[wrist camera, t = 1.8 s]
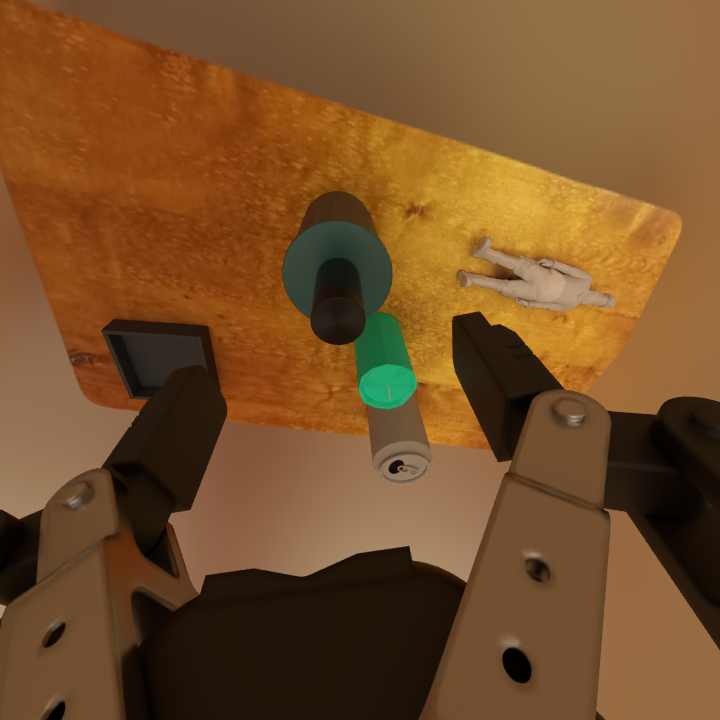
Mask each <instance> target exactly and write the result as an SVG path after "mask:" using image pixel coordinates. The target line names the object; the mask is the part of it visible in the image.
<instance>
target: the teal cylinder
mask: <svg viewBox="0 0 720 720" xmlns="http://www.w3.org/2000/svg"><path fill="white" fill-rule="evenodd" d="M329 219H344V220H349V221H353V222H356V223H359V224H361V225H363V226H365V227H366V228H368V229H369V230H371V231H372V232H373V233H374V234H375V235H376V236H377V237H378V235H377V233H376V230H375V227H374V224H373V222H372V219H371V216H370V214H369V212H368V211H367V209H366V207H365V206H364V205H363V203H362V202H361V201H360V200H359V199H357V198H356V197H354V196H353V195H351V194H348V193H345V192H338V191H335V192H329V193H325V194H323V195H321V196H319V197H318V198H317V199H315V200H314V201H313V202H312V203H311V205H310V206H309V207H308V209H307V211H306V214H305V216H304V219H303V221H302V224H301V227H300V229H299V232H298V234H299V233H300V232H302V231H303V230H304V229H305V228H307V227H309V226H310V225H312V224H315V223H317V222H320V221H324V220H329Z"/></svg>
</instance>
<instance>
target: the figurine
mask: <svg viewBox="0 0 720 720" xmlns="http://www.w3.org/2000/svg"><path fill="white" fill-rule="evenodd" d="M491 244H492V240H491V239H489V238H488V237H486V236H484V237H482V238H481V239H480V241H479V244H478V245H475V246H474V247H473V249H472V251H471V256H473V257H479V258H484V259H487V260H488V261H490V262H492V263H493V264H496V263H498V264H499V265H501V266H503V267H505V268H508V269H511V270H512V271H513V273H514V274H516V275H518V276H519V277H521V278H522V279H524V280H511V281H508V280H507V279H506V280H500V279H495V278H489V277H486V276H485V275H476V274H472V273H468V272H465V271H459V273H458V276H457V278H458V280H459V281H461V282H460V286H461V287H464V288H465V287H470V286H471V285H472V284H475V285H478V286H480V287H481V288H482V287H487V288H489V289H493V290H496V291H500V293H499V294H500V295H503V296H507V297H511V298H515V302H517V303H519V304H520V305H524V307H525V308H529V307H535V308H543V309H547V310H555V311H569V310H571V309H573V308H575V307H576V306H577V305H578V304H583V305H589V304H591V305H592V306H595V305H596V306H598V307H601V308H605V307H606V308H609V307H615V306H613V305H616V304H615V303H616V302H615V301H614V300H615V299H614V298H613V297H614V296H612V295H611V294H609V293H607V294H606V293H604V294H603V293H601V292H600V291H589V289H590V285H591V282H592V277H591V275H590V274H589V273H587V272H585V271H583V270H581V269H579V268H577V267H575V266H572V267H571V266H569V265H566V264H563V263H560V262H557V261H556V260H555V259H550V258H546V259H541V260H535V261H534V260H532V259H530V258H528V257H525V256H521V255H519V256H518V258H516V257H513V256H510V255H506V254H503V252H502V251H495V250H492V249H491V248H489V247H490V246H491ZM521 258H523V259H521ZM524 259H526V260H524ZM547 259H550V260H547ZM529 260H530V261H529ZM537 262H538V263H537ZM540 262H543V263H545V264H542V266H547V267H548V268H550V269H546V268H543V267H541V266H539V264H540ZM553 268H554V269H553ZM555 269H557V270H559V271H560V272H562V273H565V274H564V275H563V274H561V273H560V272H558V271H556V270H555ZM525 280H526V281H525ZM519 298H522V299H526V300H522V299H519ZM518 299H519V300H518Z"/></svg>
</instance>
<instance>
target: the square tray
mask: <svg viewBox="0 0 720 720" xmlns="http://www.w3.org/2000/svg"><path fill="white" fill-rule="evenodd" d="M101 331H102V333H103V336H104V338H105V340H106V343H107V345H108V347H109V350H110V352H111V354H112V357H113V359H114V361H115V364H116V366H117V368H118V371H119V373H120V375H121V378H122V380H123V382H124V385H125V387H126V389H127V392H128V394H129V396H130V399H146V400H148V399H150V398H151V397H152V396H153V395H154V394H155V393H156V392H157V391H159V390H160V389H161V388H162V386H163V385H164V383H165V382H166V380H167V379H168V377H169V376H170V374H171V373H172V372H173V370H175V369H178V368H184V367H189V366H194V365H202V366H203V367H205V369H206V370H207V371H208V373H209V375H210V376H211V378H212V379H213V381H214V383H215V384H216V386H217V387H218V389H219V390H220V388H219V383H218V377H217V372H216V367H215V362H214V357H213V351H212V346H211V341H210V336H209V331H208V326H200V325H186V324H172V323H158V322H144V321H131V320H117V319H114V320H113V321H112V322H110V323H109V324H108V325H107V326H106V327H104V328H103V329H102V330H101Z"/></svg>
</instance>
